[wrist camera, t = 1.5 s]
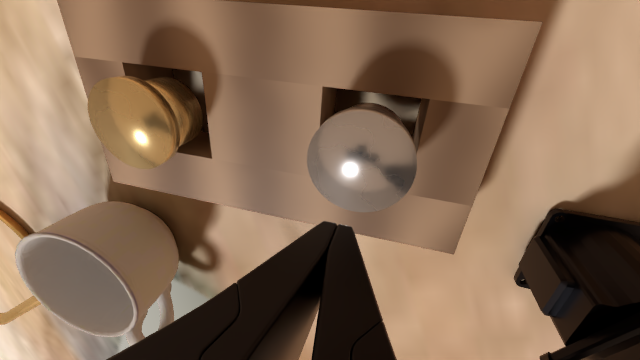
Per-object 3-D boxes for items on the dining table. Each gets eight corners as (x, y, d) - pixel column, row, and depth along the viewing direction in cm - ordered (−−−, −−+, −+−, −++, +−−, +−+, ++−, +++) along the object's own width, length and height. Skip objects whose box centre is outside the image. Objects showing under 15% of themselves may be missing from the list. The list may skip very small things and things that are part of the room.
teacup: (83, 197, 30) (-14, 247, 23) (158, 175, 26) (67, 228, 19) (156, 296, 34) (95, 362, 28) (228, 290, 31) (177, 366, 24)
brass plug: (203, 74, 16) (159, 83, 13) (212, 153, 18) (176, 176, 16) (131, 65, 17) (75, 72, 14) (148, 141, 19) (103, 161, 16)
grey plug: (424, 101, 14) (429, 119, 11) (403, 187, 16) (404, 221, 13) (327, 89, 15) (309, 103, 12) (321, 172, 17) (304, 201, 14)
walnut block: (509, 23, 15) (542, 22, 11) (445, 216, 20) (453, 254, 17) (116, -4, 19) (53, -11, 16) (153, 160, 25) (113, 181, 21)
